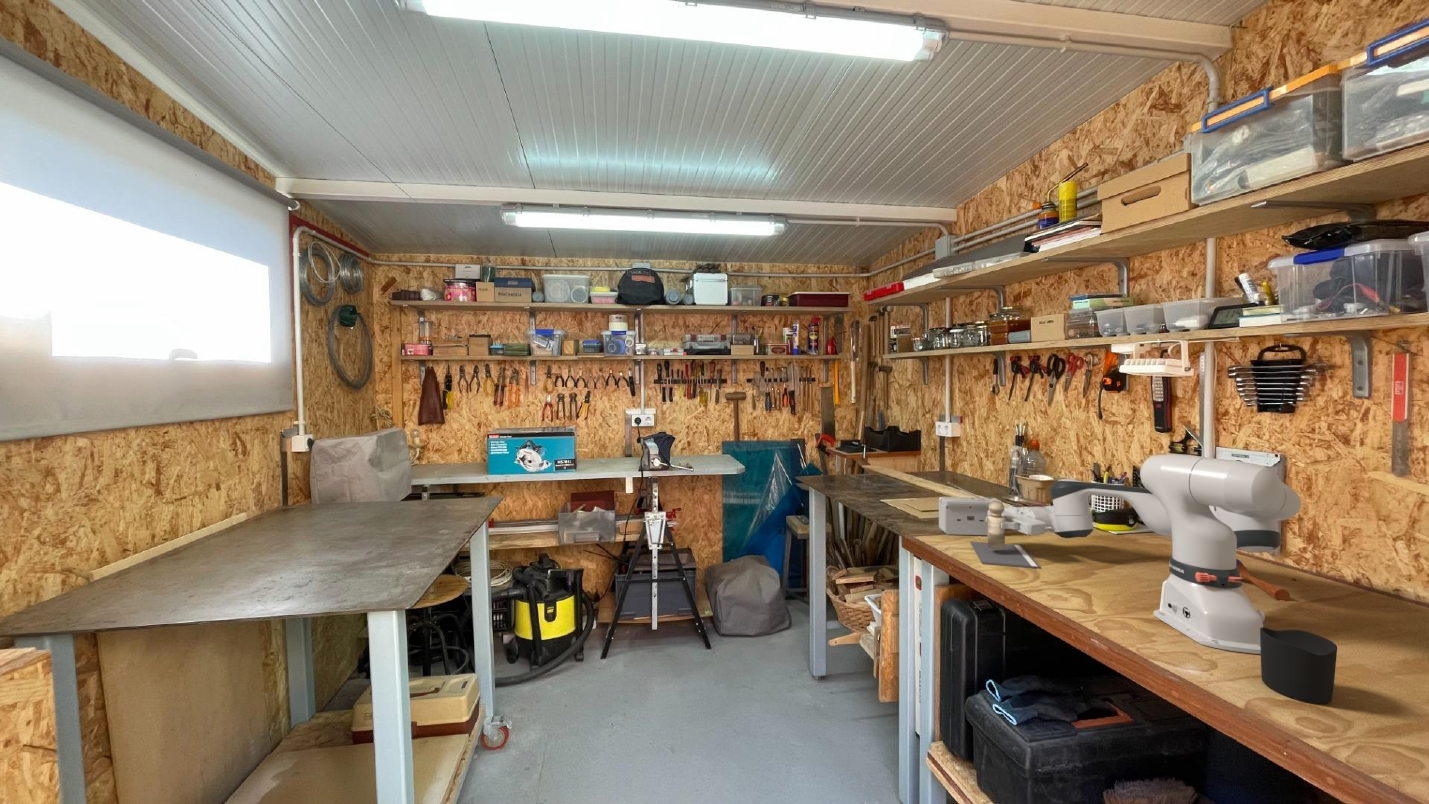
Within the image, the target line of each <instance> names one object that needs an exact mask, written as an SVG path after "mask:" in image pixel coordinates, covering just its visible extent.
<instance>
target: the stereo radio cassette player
mask: <svg viewBox="0 0 1429 804" xmlns="http://www.w3.org/2000/svg"><path fill="white" fill-rule="evenodd" d="M947 484H950V485H951V486H954V487H955V488H958V489H960V490H961V491H964V492H965V493H967V494H969V495H971V496H972V497H967V496H966V497H964V496H962V497H960V496H957V497H956V496H940V497H938V527H939V529H940V530H941V531H942V532H943V533H945V534H946V535H947V536H949V535H954V536H955V535H957V536H958V535H960V536H963V535H964V536H988V523H987V522H986V517H987V513H988V510H989V508H988V507H989V504H990V503H991V502H992V501H999V502H1001V503H1002V504H1003V502H1002V500H1000V499H998V498H996V497H980V496H978V495H976V494H974V493H972V492H970V491H968V490H965V489H964V488H962V487H959V486H957V485H955V484H953V483H951V482H950V481H948V482H947Z"/></svg>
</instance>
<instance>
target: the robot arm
mask: <svg viewBox="0 0 1429 804" xmlns="http://www.w3.org/2000/svg"><path fill="white" fill-rule="evenodd" d="M1139 477H1140V481H1141V483H1142V485H1143V487H1139V486H1130V485H1129V486H1128V485H1123V484H1112V483H1101V482H1086V481H1082V480H1078V479H1073V478H1061V479H1058V480H1054V482H1053V483H1052V484H1051V485H1050V487H1049V488H1048V489H1049V494H1050V497H1051V500H1052V505H1046V506H1043V507H1042V506H1020V505H1019V506H1018V505H1008V507H1005V506H1004V511H1003V513H1002V514H1001V516H1004V517H1005V522H999V527H1000V528H1003V529H1005V530H1006V529H1008V530H1013V531H1017V532H1019V533H1022V534H1024V535H1027V536H1039V535H1045V534H1046V533H1052V534H1053V533H1054V534H1055V535H1057V536H1058V537H1060V538H1063V539H1074V538H1075V539H1076V538H1087V537H1089V535H1090V534H1091V533H1093V531H1094V523H1093V522H1094V521H1093V516H1092V513H1091V507H1090V503H1089V497H1090V496H1098V497H1099V496H1100V497H1109V498H1110V497H1111V498H1118V499H1122V500H1124V501H1126V502H1127V503H1128V504H1130V506H1131V507H1132V508H1133V509H1134V510H1135V512H1136V514H1137V515H1138V517H1139V518H1140V519H1141V521H1142V522H1143V523H1144V525H1145V526H1146V527H1147V528H1148V529H1150V531H1152V532H1154V533H1155V534H1157V535H1160V536H1162V537H1168V538H1169V537H1171V542H1172V543H1171V544H1172V545H1171V547H1172V549H1171V551H1172V553H1171V556H1170V557H1169V561H1168V567H1169V569H1168V570H1169V572H1170V574H1169V576H1168V577H1167V578H1166V579H1165V580H1164V581H1163V582H1162V585H1161V586H1162V587H1161V595H1160V603H1159V609H1155V610H1153V615H1152V616H1154V617H1155V618H1157V619H1159V620H1161V621H1162V622H1163V623H1166V625H1168V626H1171V627H1172V628H1173V629H1175V630H1176V631H1178V632H1180V633H1181V634H1183V635H1185V636H1187V637H1188V638H1190V639H1192V640H1193V641H1195V642H1197V643H1198V644H1200V645H1203V646H1207V647H1211V648H1214V649H1215V648H1216V649H1219V650H1224V651H1230V652H1238V653H1244V654H1245V653H1247V654H1256V655H1261V646H1260V628H1261V627H1264V623H1263V622H1265V621H1266V616H1265V613H1264V611H1262V610H1259V609H1256V608H1255V606H1254V605H1253V603H1252V600H1251V598H1249V597H1248V596H1247V594H1246V593H1245V592H1244V590H1243V588H1242V586H1243V581H1242V580H1244V579H1243V578H1241V575H1240V573H1239V569H1238V567H1237V566H1236V559H1237V553H1238V552H1237V551H1242V552H1245V553H1246V552H1247V553H1251V554H1253V553H1254V554H1260V553H1266V552H1269V551H1272V550H1273V551H1274V550H1276V549H1277V548H1279V547H1280V546H1281V541H1282V540H1281V539H1282V537H1281V536H1282V534H1281V533H1280V532H1279V526H1278V521H1286V520H1289V519H1291V518H1294V517H1295V516H1296V515H1297V514H1298V513H1299V512H1300V510H1301V508H1302V500H1301V498H1300V496H1299V494H1298V493H1297V491H1296V490H1294V489H1293V488H1292V487H1290V486H1289V485H1287V484H1285V482H1282V480H1281V479H1280V477H1279V475H1277V473H1276V472H1275V471H1274V470H1272V469H1271V468H1269V467H1265V466H1262V465H1258V464H1254V463H1249V462H1244V461H1242V460H1233V459H1224V458H1216V457H1215V458H1213V457H1205V456H1197V455H1189V454H1179V453H1178V454H1177V453H1170V454H1168V453H1166V454H1155V455H1150V456H1149V457H1147V459H1145V460H1144V462H1143V463H1142V465H1141V467H1140V469H1139ZM988 515H991V512H990V511H989V510H988V513H987V517H986V522H987V523H988Z"/></svg>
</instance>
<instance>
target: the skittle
mask: <svg viewBox="0 0 1429 804" xmlns="http://www.w3.org/2000/svg"><path fill="white" fill-rule="evenodd" d="M1001 502H1002V501H1001ZM1001 502H999V501H992V502H991V503H990V504H989V507H988V508H989V511H990V512H991V515H988V535H987V543H988V547H990V548H994V549H1004V548H1005V544H1006V537H1005V536H1006V533H1005V532H1006V529H1003V528H1000V527H999V522H1005V517H1004V516H1001V514H1002V513H1003V511H1004V507H1005V506H1004V504H1003V502H1002V503H1001Z"/></svg>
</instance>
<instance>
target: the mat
mask: <svg viewBox="0 0 1429 804" xmlns="http://www.w3.org/2000/svg"><path fill="white" fill-rule="evenodd" d="M970 545H971V546H972V548H973V550H974V552H975V554H976V556H977V557H978V559H979V561H980V563H981V564H982V565H990V566H1003V567H1004V566H1005V567H1017V568H1027V569H1028V568H1029V569H1030V568H1031V569H1037V568H1040V569H1041V566H1040V564H1038V562H1037V561H1036V560H1035V559H1034V557H1032V556H1031V555H1030V553H1029V552H1028V551H1027V550H1026V549H1025V547H1023V545H1022V544H1013V543H1012V544H1011V543H1009V544H1008V543H1005V548H1004V549H994V548H990V547H988V542H983V541H982V542H981V541H970Z"/></svg>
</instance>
